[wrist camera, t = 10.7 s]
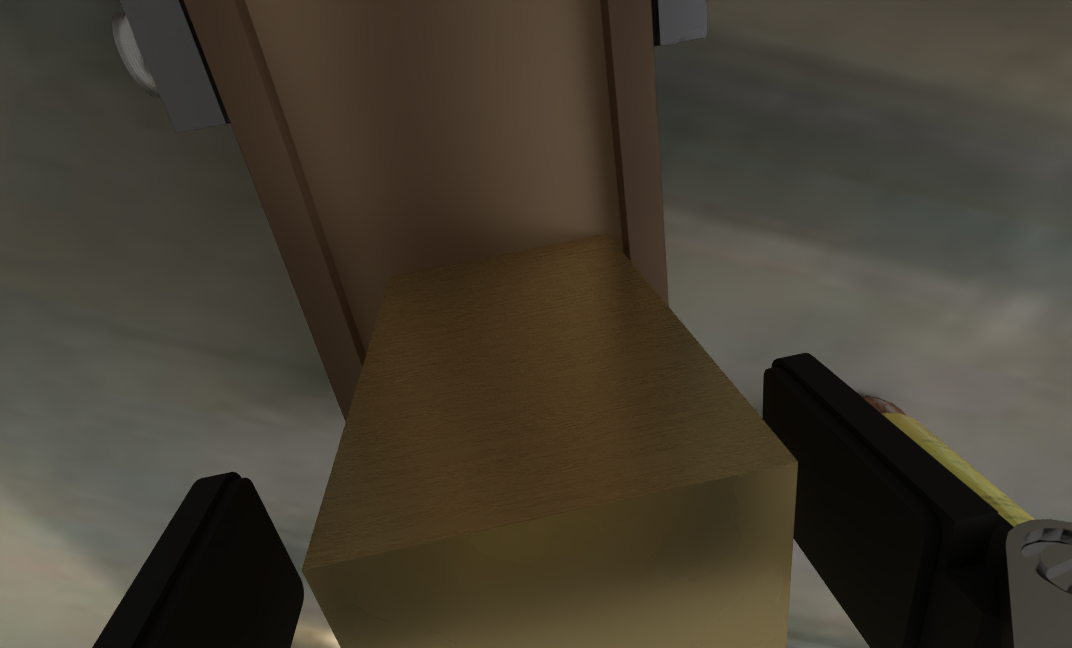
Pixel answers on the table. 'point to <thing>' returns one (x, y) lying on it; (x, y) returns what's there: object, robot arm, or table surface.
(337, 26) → the brown long channel
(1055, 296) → the table surface
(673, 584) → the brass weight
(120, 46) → the beam stand
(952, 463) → the sauce bottle
